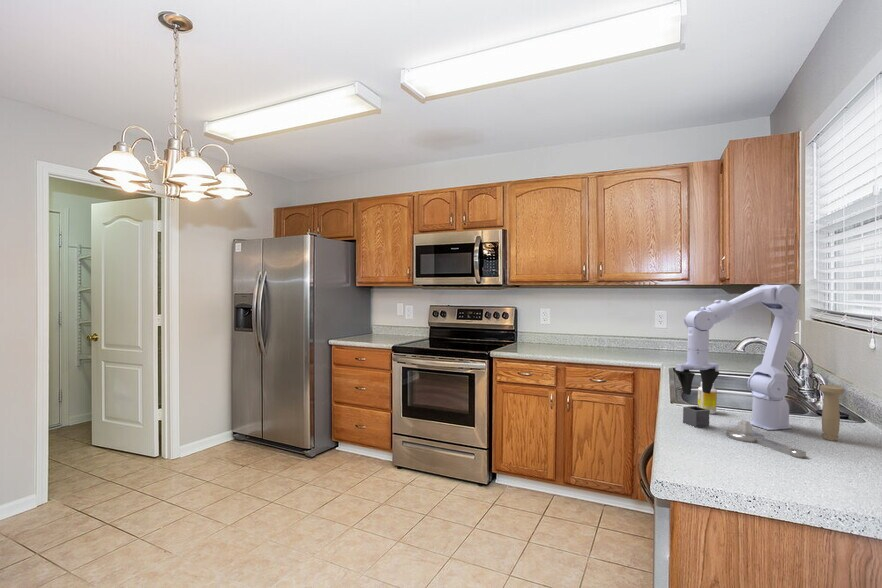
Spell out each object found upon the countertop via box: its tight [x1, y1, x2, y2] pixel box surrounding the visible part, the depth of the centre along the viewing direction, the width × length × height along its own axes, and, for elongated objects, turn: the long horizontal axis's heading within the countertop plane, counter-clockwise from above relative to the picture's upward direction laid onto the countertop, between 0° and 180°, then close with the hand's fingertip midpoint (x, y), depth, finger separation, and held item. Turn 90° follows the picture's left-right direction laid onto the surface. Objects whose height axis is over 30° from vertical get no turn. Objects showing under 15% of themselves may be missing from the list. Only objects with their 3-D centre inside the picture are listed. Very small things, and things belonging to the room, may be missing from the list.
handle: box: [819, 384, 844, 442], centre depth 127 cm, size 5×6×15 cm
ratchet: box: [725, 419, 807, 459], centre depth 122 cm, size 9×21×5 cm, turn 16°
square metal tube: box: [682, 405, 710, 428], centre depth 139 cm, size 5×5×5 cm
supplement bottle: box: [697, 381, 718, 415], centre depth 154 cm, size 6×6×10 cm
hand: (696, 393), depth 138 cm, fingers open, 7 cm apart
